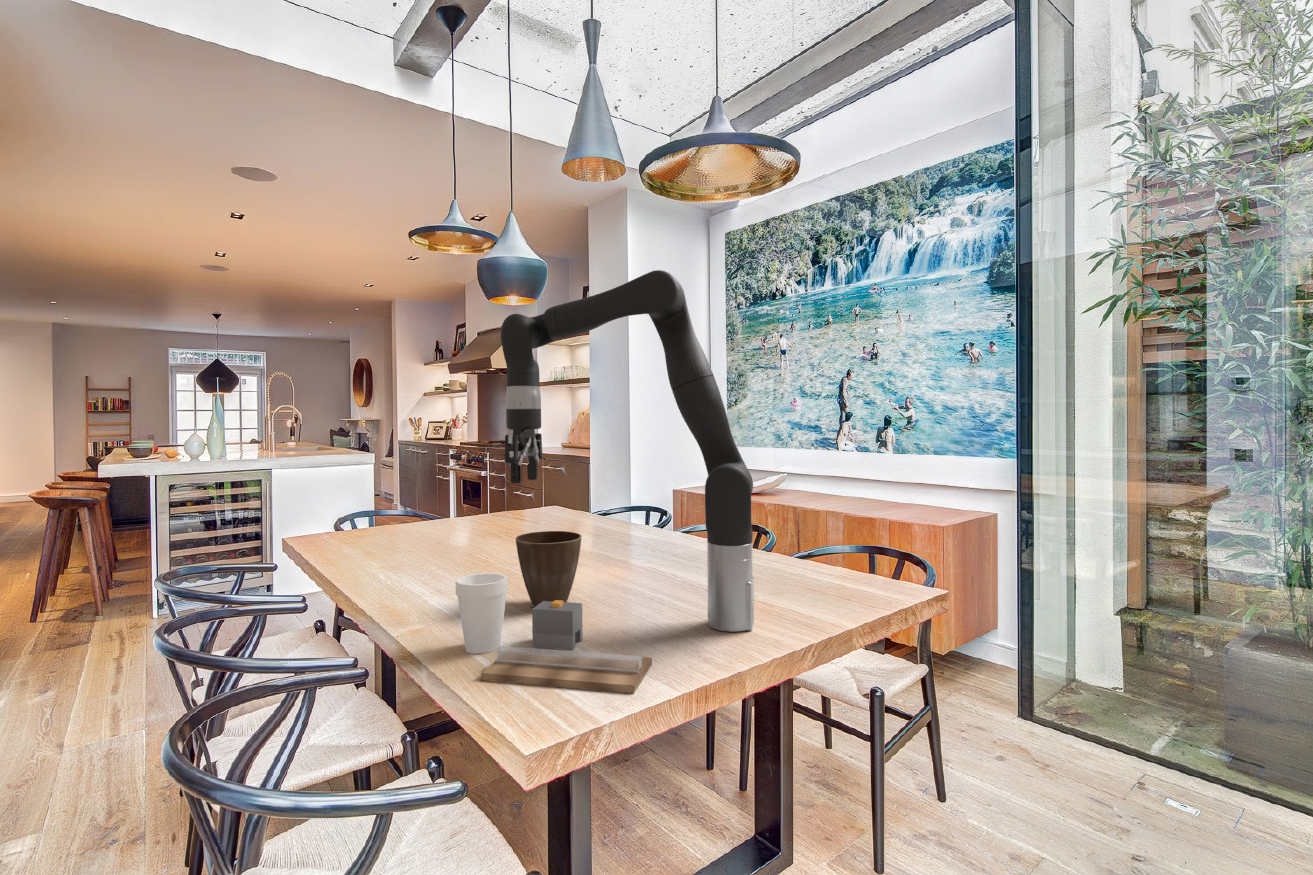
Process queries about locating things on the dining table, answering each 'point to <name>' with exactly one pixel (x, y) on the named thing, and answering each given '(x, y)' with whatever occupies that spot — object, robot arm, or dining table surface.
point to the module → (557, 624)
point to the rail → (570, 659)
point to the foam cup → (482, 610)
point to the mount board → (567, 676)
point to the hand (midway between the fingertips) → (524, 481)
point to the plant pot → (548, 564)
